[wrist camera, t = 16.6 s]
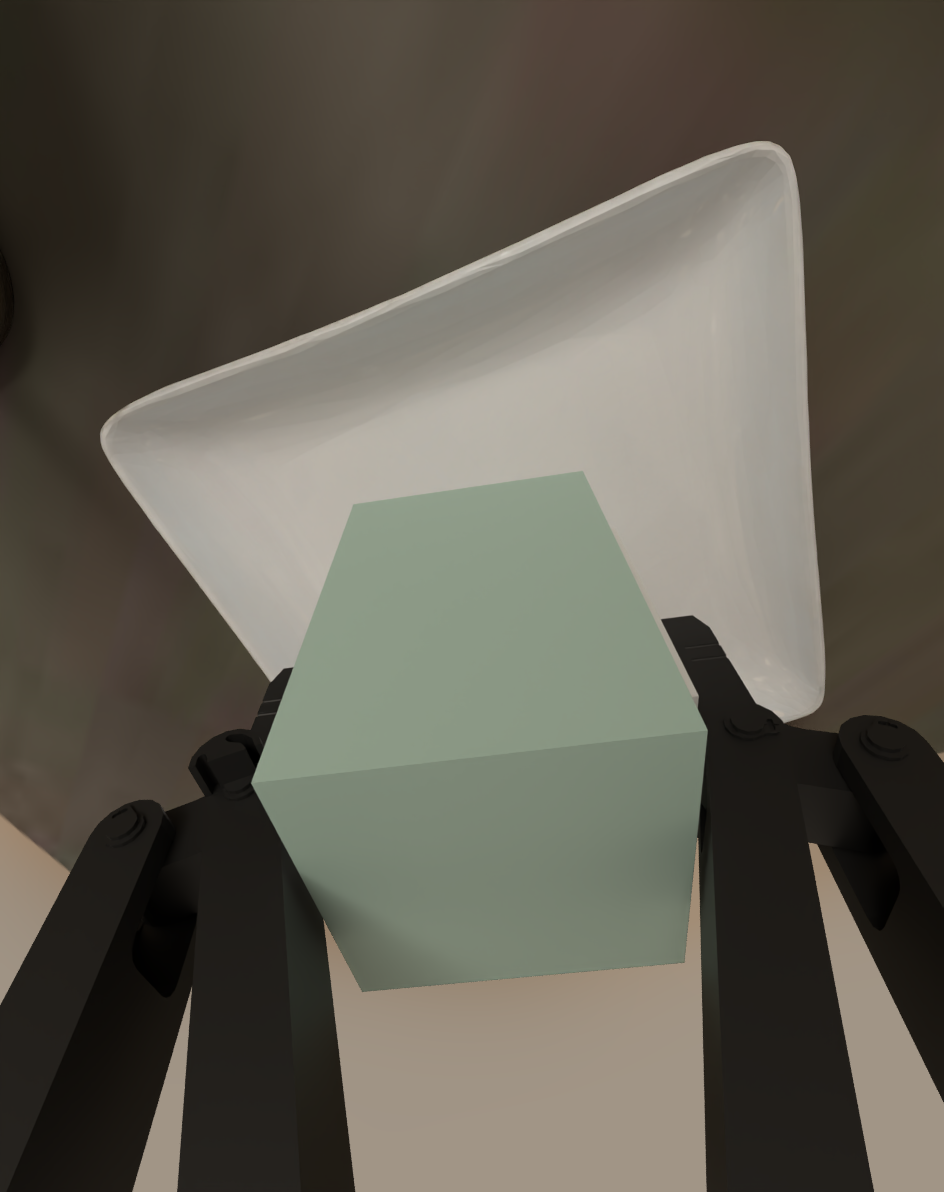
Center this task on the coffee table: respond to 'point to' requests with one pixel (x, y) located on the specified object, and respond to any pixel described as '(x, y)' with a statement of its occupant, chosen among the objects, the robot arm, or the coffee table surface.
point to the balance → (5, 300)
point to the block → (488, 745)
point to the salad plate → (533, 419)
